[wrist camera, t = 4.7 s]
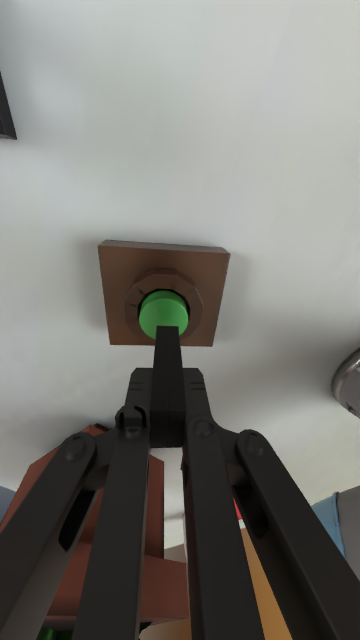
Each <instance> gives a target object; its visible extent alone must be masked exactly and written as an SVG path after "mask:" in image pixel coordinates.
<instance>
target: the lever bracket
mask: <svg viewBox="0 0 360 640" xmlns="http://www.w3.org/2000/svg"><path fill="white" fill-rule="evenodd" d="M0 138H6V139H15V140H17V136H16V132H15V128H14V125H13V121H12V117H11V113H10V109H9V105H8V101H7V97H6V93H5V89H4V85H3V81H2V77H1V73H0Z"/></svg>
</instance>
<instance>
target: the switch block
mask: <svg viewBox="0 0 360 640" xmlns="http://www.w3.org/2000/svg"><path fill="white" fill-rule="evenodd" d="M98 253H99V261H100V269H101V277H102V285H103V293H104V301H105V308H106V316H107V324H108V332H109V340H110V345H150V346H155V340H156V339H153V338H151V337H149V336H148V335H147V334H146V333H145V332H144V331H143V330H142V328H141V326H140V323H139V316H140V312H141V307H142V304H143V302H144V300H145V299H146V298H147V297H148V296H149V295H150V294H152V293H154V292H157V291H171V292H173V293H175V294H177V295H179V296H180V297H181V298H182V299H183V301H184V303H185V305H186V309H187V314H188V324H187V327H186V329H185V330H184V332H183V333H182V334H181V335H180V336H179V337H180V346H206V347H212V346H213V341H214V336H215V330H216V325H217V320H218V315H219V310H220V305H221V299H222V294H223V289H224V284H225V279H226V274H227V268H228V263H229V258H230V253H228V252H227V251H226V250H225V249H223V248H221V247H206V246H190V245H175V244H160V243H144V242H129V241H114V240H105V241H104V242H102V243H101V244H99V245H98Z"/></svg>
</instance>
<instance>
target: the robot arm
mask: <svg viewBox="0 0 360 640" xmlns="http://www.w3.org/2000/svg"><path fill="white" fill-rule="evenodd" d="M332 393H333V395H334V397H335V398H336V399H337V400H338V401H339V403H340V404H341V405H342V406H343V407H344V408H345V409H347V410H348V411H349V412H351V413H352V414H354V415H355V416H357V417H358V418H360V349H359V350H358V351H357V352H355V353H354V354H353V355H352V356H350V357H349V358H348V359H347V360H346V361H345V362H344V363H343V365H342V366H341V367H340V368H339V370H338V371H337V373H336V375H335V376H334V379H333V382H332ZM115 421H116V426H115V427H114V428H113V429H111V430H109V431H107V432H105V433H102V434H99V435H95V436H92V435H91V434H89V433H87V432H79V433H76V434H73V435H71V436H70V437H68V438H67V439H66V440H65V441H64V442H63V443H62V444H61V445H60V447H59V448H58V449H57V451H56V452H55V454H54V455H53V457H52V458H51V460H50V461H49V463H48V464H47V466H46V467H45V469H44V470H43V472H42V473H41V474H40V476H39V477H38V479H37V480H36V482H35V483H34V485H33V486H32V488H31V489H30V491H29V492H28V494H27V495H26V497H25V498H24V499H23V501H22V502H21V504H20V505H19V507H18V508H17V510H16V511H15V513H14V514H13V516H12V517H11V519H10V520H9V522H8V523H7V524H6V526H5V527H4V529H3V530H2V532H1V533H0V640H36V638H37V636H38V633H39V631H40V629H41V626H42V624H43V622H44V619H45V617H46V615H47V612H48V610H49V608H50V605H51V603H52V601H53V598H54V596H55V594H56V591H57V589H58V587H59V584H60V582H61V580H62V578H63V575H64V573H65V571H66V568H67V566H68V564H69V561H70V559H71V557H72V554H73V552H74V550H75V547H76V545H77V543H78V540H79V538H80V536H81V533H82V531H83V529H84V526H85V524H86V522H87V519H88V517H89V515H90V513H91V510H92V508H93V506H94V503H95V501H96V499H97V496H98V494H99V492H100V489H101V488H103V487H104V491H103V496H102V501H101V505H100V510H99V514H98V519H97V524H96V528H95V533H94V538H93V542H92V547H91V551H90V556H89V561H88V565H87V570H86V575H85V579H84V584H83V588H82V593H81V598H80V602H79V607H78V611H77V616H76V621H75V625H74V630H73V635H72V639H71V640H139V627H140V611H141V595H142V579H143V563H144V547H145V530H146V514H147V498H148V482H149V466H150V448H178V447H182V451H183V456H182V463H181V470H182V473H183V491H184V509H185V526H186V544H187V561H188V579H189V596H190V614H191V630H192V640H265V638H264V633H263V628H262V624H261V619H260V615H259V611H258V606H257V602H256V597H255V593H254V588H253V584H252V579H251V575H250V571H249V566H248V561H247V557H246V552H245V548H244V544H243V539H242V535H241V530H240V526H239V521H238V517H237V512H236V508H235V503H234V500H235V502H236V505H237V507H238V510H239V512H240V514H241V517H242V519H243V522H244V524H245V526H246V529H247V531H248V534H249V536H250V538H251V541H252V543H253V546H254V548H255V550H256V553H257V555H258V558H259V560H260V562H261V565H262V567H263V570H264V572H265V574H266V577H267V579H268V582H269V584H270V586H271V589H272V591H273V594H274V596H275V598H276V601H277V603H278V606H279V608H280V610H281V613H282V615H283V618H284V620H285V622H286V625H287V627H288V629H289V632H290V634H291V637H292V639H293V640H360V486H357V487H354V488H352V489H349V490H346V491H344V492H341V493H339V492H334V494H333V495H332V496H331V497H329V498H326V499H324V500H322V501H320V502H318V503H315V504H314V505H312V506H310V505H309V503H308V502H307V500H306V499H305V497H304V496H303V494H302V493H301V491H300V489H299V488H298V486H297V485H296V483H295V482H294V480H293V479H292V477H291V476H290V474H289V473H288V471H287V470H286V468H285V467H284V465H283V464H282V462H281V460H280V459H279V457H278V456H277V454H276V453H275V451H274V450H273V448H272V447H271V445H270V444H269V442H268V441H267V440H266V438H265V437H264V436H263V435H262V434H260V433H259V432H257V431H254V430H251V429H248V430H243V431H242V432H240V434H238V433H235V432H232V431H229V430H226V429H224V428H222V427H220V426H219V425H218V424H217V423H216V422H215V421H214V419H213V418H212V415H211V411H210V407H209V402H208V397H207V392H206V388H205V384H204V378H203V374H202V373H201V372H200V370H199V369H198V368H182V357H181V347H180V337H179V326H158V325H157V328H156V340H155V352H154V365H153V368H136V369H135V370H134V371H133V373H132V374H131V377H130V382H129V387H128V392H127V397H126V401H125V406H123V407H122V408H121V409H120V410H119V411H118V412H117V414H116V416H115ZM233 498H234V499H233Z"/></svg>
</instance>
